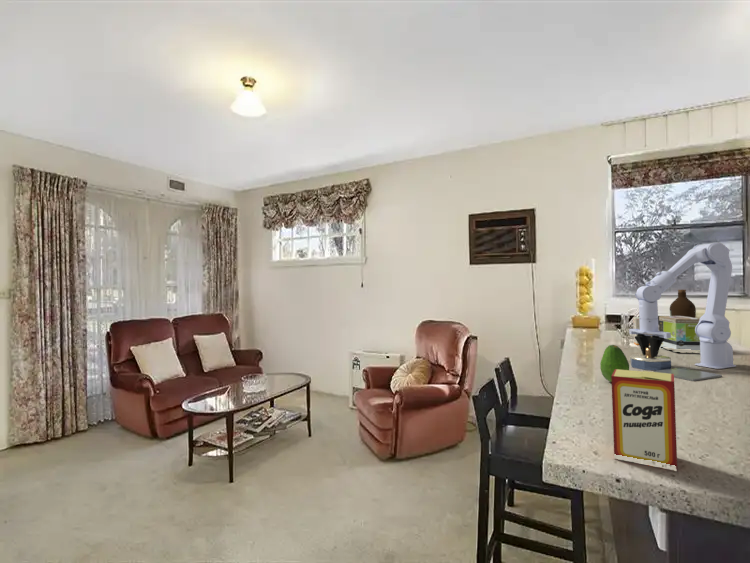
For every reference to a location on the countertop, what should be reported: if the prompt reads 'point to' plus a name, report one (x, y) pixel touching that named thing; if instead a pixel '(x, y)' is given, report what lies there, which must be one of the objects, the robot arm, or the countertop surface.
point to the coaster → (689, 374)
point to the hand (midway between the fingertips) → (649, 355)
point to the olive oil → (682, 306)
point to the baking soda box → (644, 415)
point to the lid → (649, 357)
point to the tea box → (680, 332)
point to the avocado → (613, 361)
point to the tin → (650, 365)
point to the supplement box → (636, 326)
